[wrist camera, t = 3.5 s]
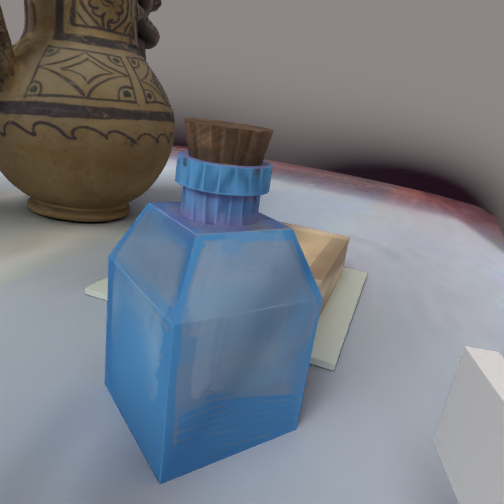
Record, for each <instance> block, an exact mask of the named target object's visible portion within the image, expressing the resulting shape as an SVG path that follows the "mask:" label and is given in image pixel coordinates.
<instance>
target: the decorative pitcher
mask: <svg viewBox="0 0 504 504" xmlns="http://www.w3.org/2000/svg"><path fill="white" fill-rule="evenodd" d="M160 6H161V0H24V13H25V21H24V30H23V34H22V36H21V37H20V39H19V40H18V41H17V42H16V43H15V44H13V45H12V44H11V40H10V38H9V34H8V31H7V28H6V25H5V21H4V17H3V13H2V9H1V7H0V171H1V172H2V173H3V175H4V176H5V177H6V178H7V179H8V180H9V181H10V182H11V183H12V184H13V185H14V186H16V187H17V188H18V189H19V190H21V191H22V192H24V193H25V194H27V195H28V196H30V198H29V199H28V202H27V205H28V207H29V209H30V210H32V211H33V212H35V213H37V214H40V215H43V216H47V217H52V218H57V219H63V220H71V221H81V222H103V221H111V220H116V219H120V218H122V217H125V216H126V215H128V214H129V212H130V206H129V204H128V203H129V202H130V201H132V200H134V199H136V198H137V197H139V196H141V195H142V194H143V193H144V192H146V191H147V190H148V189H149V188H150V187H151V185H152V184H153V183H154V182H155V181H156V179H157V178H158V177H159V175H160V174H161V172H162V170H163V169H164V167H165V165H166V163H167V161H168V158H169V156H170V153H171V150H172V146H173V141H174V130H175V126H174V125H175V124H174V123H175V122H174V114H173V110H172V108H171V105H170V102H169V99H168V97H167V95H166V93H165V91H164V89H163V87H162V85H161V83H160V82H159V80H158V79H157V77H156V76H155V74H154V72H153V71H152V69H151V68H150V67H149V65H148V64H147V62H146V56H145V55H146V54H145V49H151V48H153V47H154V46H156V45H157V43H158V41H159V38H160V35H159V32H158V30H157V28H156V27H155V26H154V25H153V23H152V22H151V21H150V20H149V19H148V15H149V14H150V12H153V11H156V10H158V8H159V7H160Z"/></svg>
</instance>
